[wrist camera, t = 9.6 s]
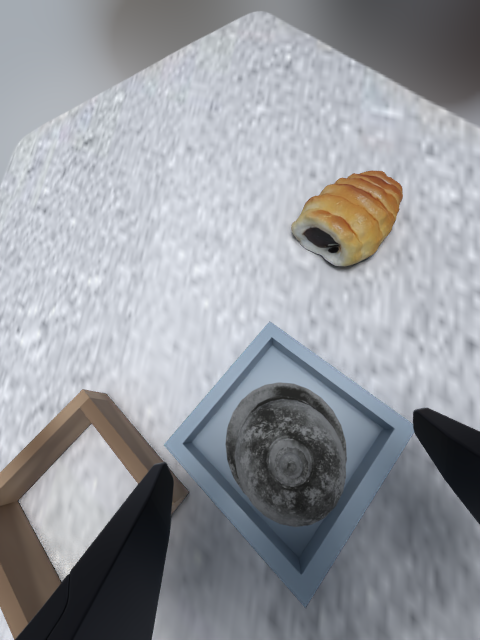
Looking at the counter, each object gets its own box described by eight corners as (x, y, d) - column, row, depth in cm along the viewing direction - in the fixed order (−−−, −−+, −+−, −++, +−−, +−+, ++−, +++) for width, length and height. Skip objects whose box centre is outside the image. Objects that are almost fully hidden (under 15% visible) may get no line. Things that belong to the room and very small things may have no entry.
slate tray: (301, 581, 13) (305, 608, 11) (177, 443, 17) (163, 445, 15) (399, 427, 16) (417, 427, 14) (270, 332, 19) (269, 321, 17)
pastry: (349, 177, 24) (361, 136, 21) (417, 209, 22) (443, 168, 18) (284, 240, 23) (285, 206, 19) (350, 282, 20) (365, 252, 17)
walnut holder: (72, 639, 14) (32, 680, 12) (2, 501, 17) (-40, 513, 15) (189, 492, 16) (173, 503, 14) (106, 393, 19) (82, 389, 17)
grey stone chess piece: (251, 509, 15) (171, 755, 4) (225, 406, 17) (130, 368, 6) (349, 479, 15) (565, 635, 4) (309, 379, 17) (366, 291, 6)
